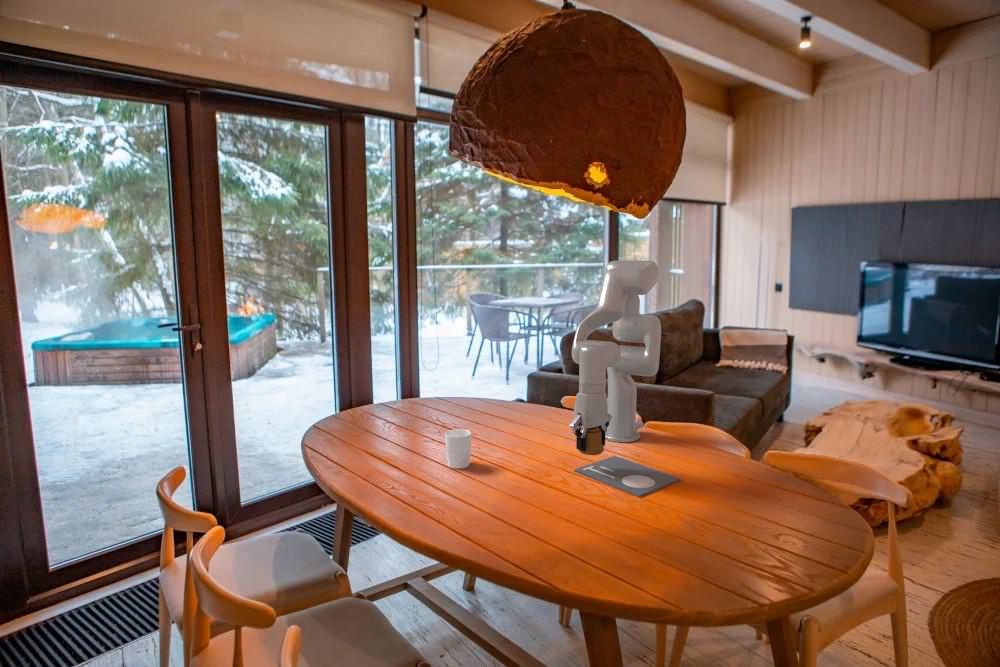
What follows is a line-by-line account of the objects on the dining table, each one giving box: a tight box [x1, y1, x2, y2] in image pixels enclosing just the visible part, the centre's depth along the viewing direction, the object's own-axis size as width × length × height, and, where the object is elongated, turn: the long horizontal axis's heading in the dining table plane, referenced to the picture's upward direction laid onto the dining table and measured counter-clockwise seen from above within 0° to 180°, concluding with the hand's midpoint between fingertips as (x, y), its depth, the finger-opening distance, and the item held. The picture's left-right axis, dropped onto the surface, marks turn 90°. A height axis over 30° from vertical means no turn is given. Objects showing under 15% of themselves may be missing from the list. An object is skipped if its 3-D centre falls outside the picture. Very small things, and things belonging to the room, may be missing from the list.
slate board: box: [573, 455, 681, 498], centre depth 179 cm, size 18×24×1 cm
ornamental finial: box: [578, 427, 605, 456], centre depth 181 cm, size 8×8×8 cm
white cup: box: [444, 428, 472, 470], centre depth 188 cm, size 8×8×10 cm
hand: (590, 446), depth 182 cm, fingers closed on ornamental finial, 7 cm apart
